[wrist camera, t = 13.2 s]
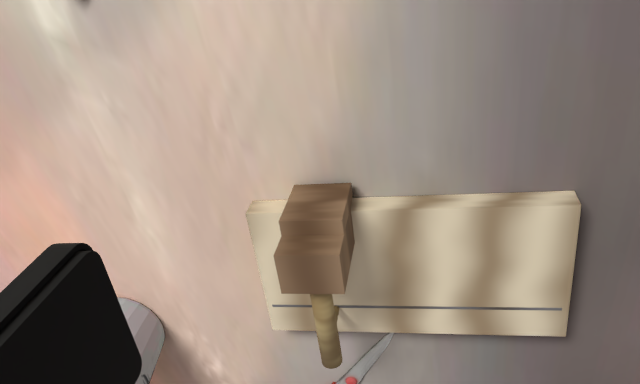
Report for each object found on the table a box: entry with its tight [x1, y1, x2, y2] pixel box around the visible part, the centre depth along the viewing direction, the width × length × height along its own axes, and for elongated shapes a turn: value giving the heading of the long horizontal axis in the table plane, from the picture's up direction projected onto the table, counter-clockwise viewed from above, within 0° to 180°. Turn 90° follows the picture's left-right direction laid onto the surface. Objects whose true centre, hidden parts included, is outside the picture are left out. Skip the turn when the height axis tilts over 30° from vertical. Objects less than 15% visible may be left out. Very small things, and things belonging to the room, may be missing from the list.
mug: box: [117, 297, 165, 384], centre depth 48 cm, size 10×15×10 cm
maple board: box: [246, 191, 581, 337], centre depth 42 cm, size 24×12×2 cm, turn 98°
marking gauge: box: [274, 183, 355, 369], centre depth 40 cm, size 4×13×8 cm, turn 8°
